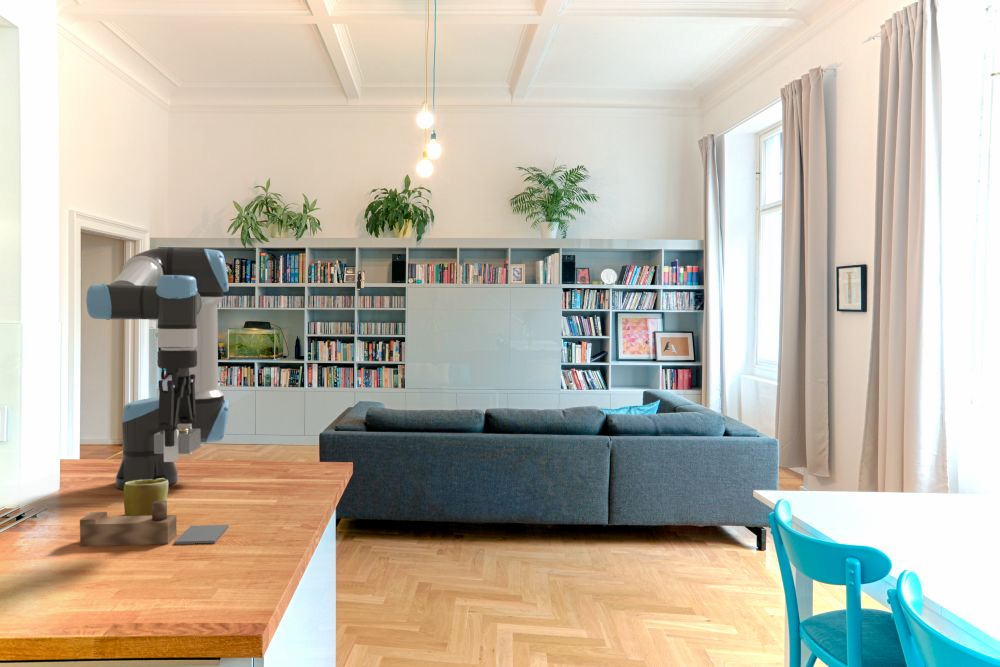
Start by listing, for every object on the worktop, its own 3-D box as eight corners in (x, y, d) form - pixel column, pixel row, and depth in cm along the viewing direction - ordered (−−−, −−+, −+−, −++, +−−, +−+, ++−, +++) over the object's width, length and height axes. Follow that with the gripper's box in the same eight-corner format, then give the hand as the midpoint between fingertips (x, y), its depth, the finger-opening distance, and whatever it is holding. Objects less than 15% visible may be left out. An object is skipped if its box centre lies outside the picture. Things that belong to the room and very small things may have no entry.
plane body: (80, 546, 137) (79, 507, 136) (92, 537, 142) (91, 500, 141) (167, 543, 139) (167, 505, 138) (176, 535, 144) (176, 498, 143)
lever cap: (154, 453, 138) (153, 431, 138) (167, 447, 144) (166, 425, 144) (189, 453, 138) (189, 430, 138) (200, 446, 145) (200, 425, 145)
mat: (190, 528, 148) (190, 525, 148) (228, 527, 149) (228, 524, 149) (174, 544, 138) (174, 541, 138) (214, 543, 139) (214, 540, 139)
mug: (151, 516, 150) (146, 472, 152) (114, 527, 152) (109, 483, 154) (190, 511, 162) (184, 470, 164) (154, 521, 164) (149, 480, 166)
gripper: (177, 346, 150) (177, 448, 151) (137, 351, 131) (138, 468, 131) (211, 346, 151) (212, 447, 152) (177, 352, 131) (178, 468, 132)
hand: (178, 457), depth 141 cm, fingers closed on lever cap, 6 cm apart
